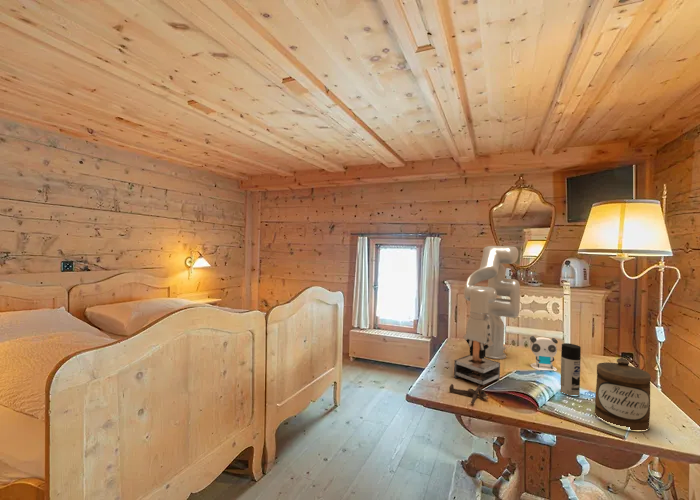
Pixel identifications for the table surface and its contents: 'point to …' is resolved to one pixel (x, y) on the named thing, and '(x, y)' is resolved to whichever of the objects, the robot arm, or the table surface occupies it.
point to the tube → (476, 355)
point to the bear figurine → (470, 392)
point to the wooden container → (623, 394)
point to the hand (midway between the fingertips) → (477, 356)
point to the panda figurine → (543, 352)
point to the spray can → (570, 369)
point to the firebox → (487, 369)
